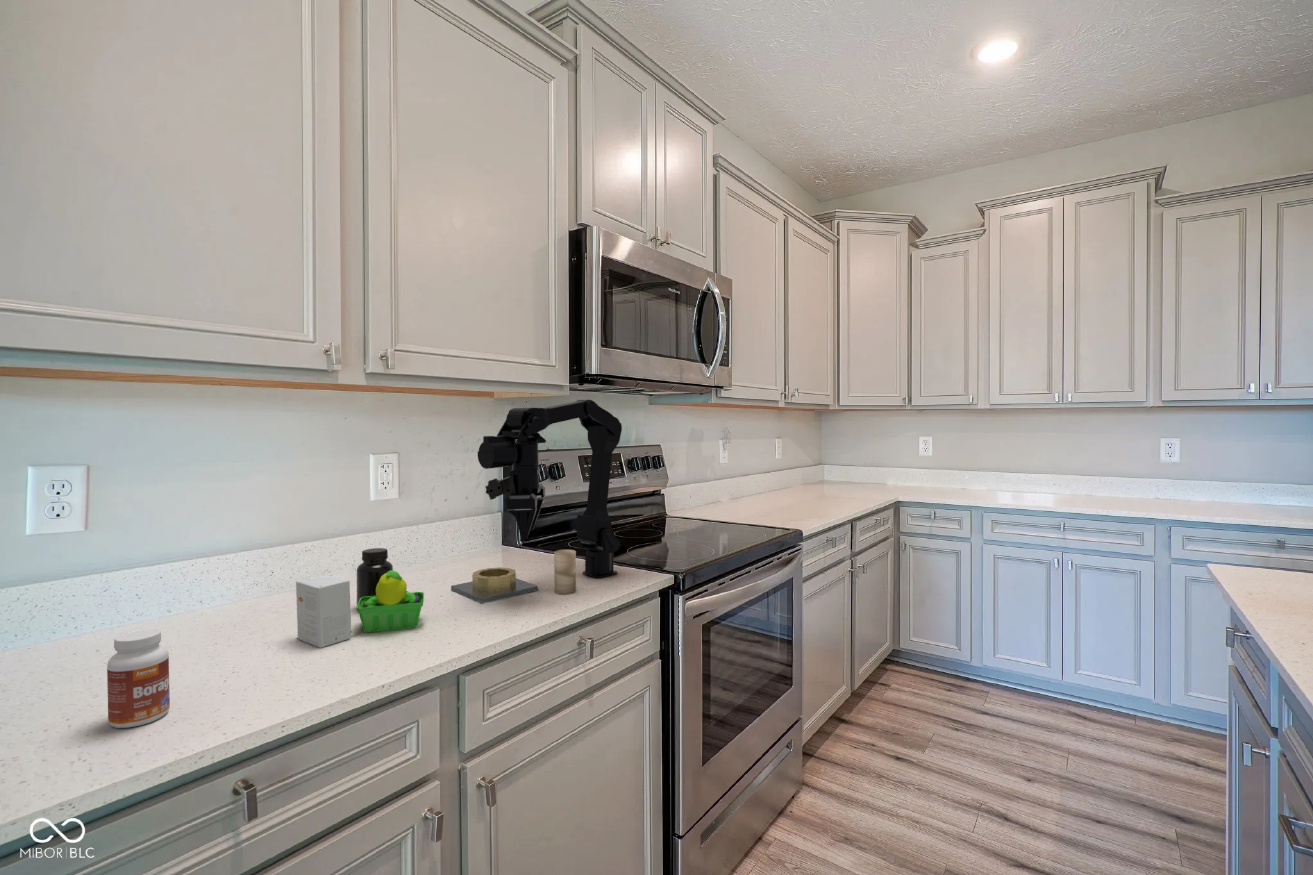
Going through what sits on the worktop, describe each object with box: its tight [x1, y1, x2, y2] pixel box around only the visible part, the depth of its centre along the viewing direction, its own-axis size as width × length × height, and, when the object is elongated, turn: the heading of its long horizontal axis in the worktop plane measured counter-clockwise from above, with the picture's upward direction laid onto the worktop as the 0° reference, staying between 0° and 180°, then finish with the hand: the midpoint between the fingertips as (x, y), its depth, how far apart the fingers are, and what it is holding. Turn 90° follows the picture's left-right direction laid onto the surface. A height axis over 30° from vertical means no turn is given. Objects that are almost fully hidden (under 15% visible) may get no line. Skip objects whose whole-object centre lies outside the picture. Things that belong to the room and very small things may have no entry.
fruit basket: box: [355, 569, 425, 633], centre depth 114 cm, size 11×9×11 cm
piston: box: [553, 549, 577, 595], centre depth 137 cm, size 5×5×9 cm
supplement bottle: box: [356, 547, 394, 606], centre depth 125 cm, size 7×7×12 cm
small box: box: [295, 574, 352, 649], centre depth 108 cm, size 8×6×10 cm
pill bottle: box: [106, 628, 171, 729], centre depth 79 cm, size 6×6×11 cm
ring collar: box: [450, 566, 539, 604], centre depth 138 cm, size 14×14×4 cm
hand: (527, 534), depth 134 cm, fingers open, 9 cm apart
